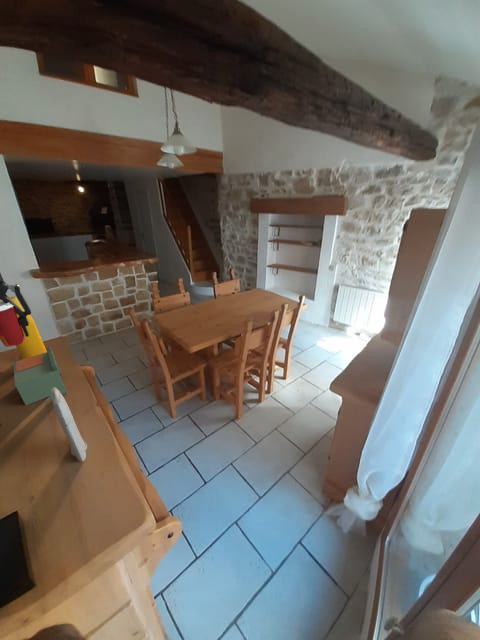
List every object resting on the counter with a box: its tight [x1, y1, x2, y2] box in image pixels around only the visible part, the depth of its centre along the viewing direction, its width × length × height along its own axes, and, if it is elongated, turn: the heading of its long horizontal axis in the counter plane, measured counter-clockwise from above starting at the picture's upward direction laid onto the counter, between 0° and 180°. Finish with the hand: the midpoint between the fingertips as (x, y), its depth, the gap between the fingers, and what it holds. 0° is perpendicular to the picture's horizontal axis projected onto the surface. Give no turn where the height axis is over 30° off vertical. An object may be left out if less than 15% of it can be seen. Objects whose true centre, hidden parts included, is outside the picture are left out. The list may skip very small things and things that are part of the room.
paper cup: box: [0, 300, 25, 348], centre depth 80 cm, size 8×8×14 cm
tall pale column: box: [51, 387, 88, 463], centre depth 69 cm, size 11×4×22 cm, turn 40°
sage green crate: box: [13, 346, 68, 406], centre depth 94 cm, size 12×16×13 cm
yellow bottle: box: [8, 296, 48, 360], centre depth 109 cm, size 9×9×29 cm
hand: (13, 338), depth 83 cm, fingers closed on paper cup, 7 cm apart
